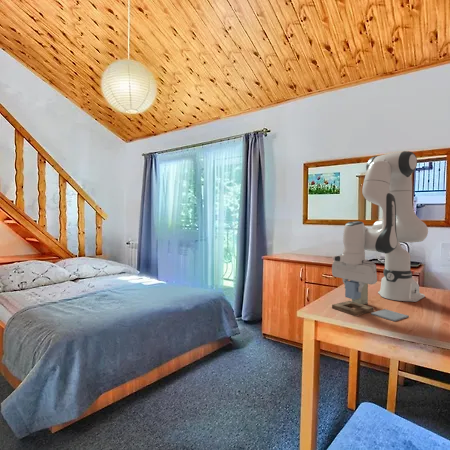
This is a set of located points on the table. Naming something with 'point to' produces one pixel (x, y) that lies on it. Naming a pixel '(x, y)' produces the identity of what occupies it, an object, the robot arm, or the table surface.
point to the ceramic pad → (389, 315)
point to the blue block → (352, 290)
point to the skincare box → (363, 296)
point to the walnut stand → (345, 308)
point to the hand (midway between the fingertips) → (353, 290)
